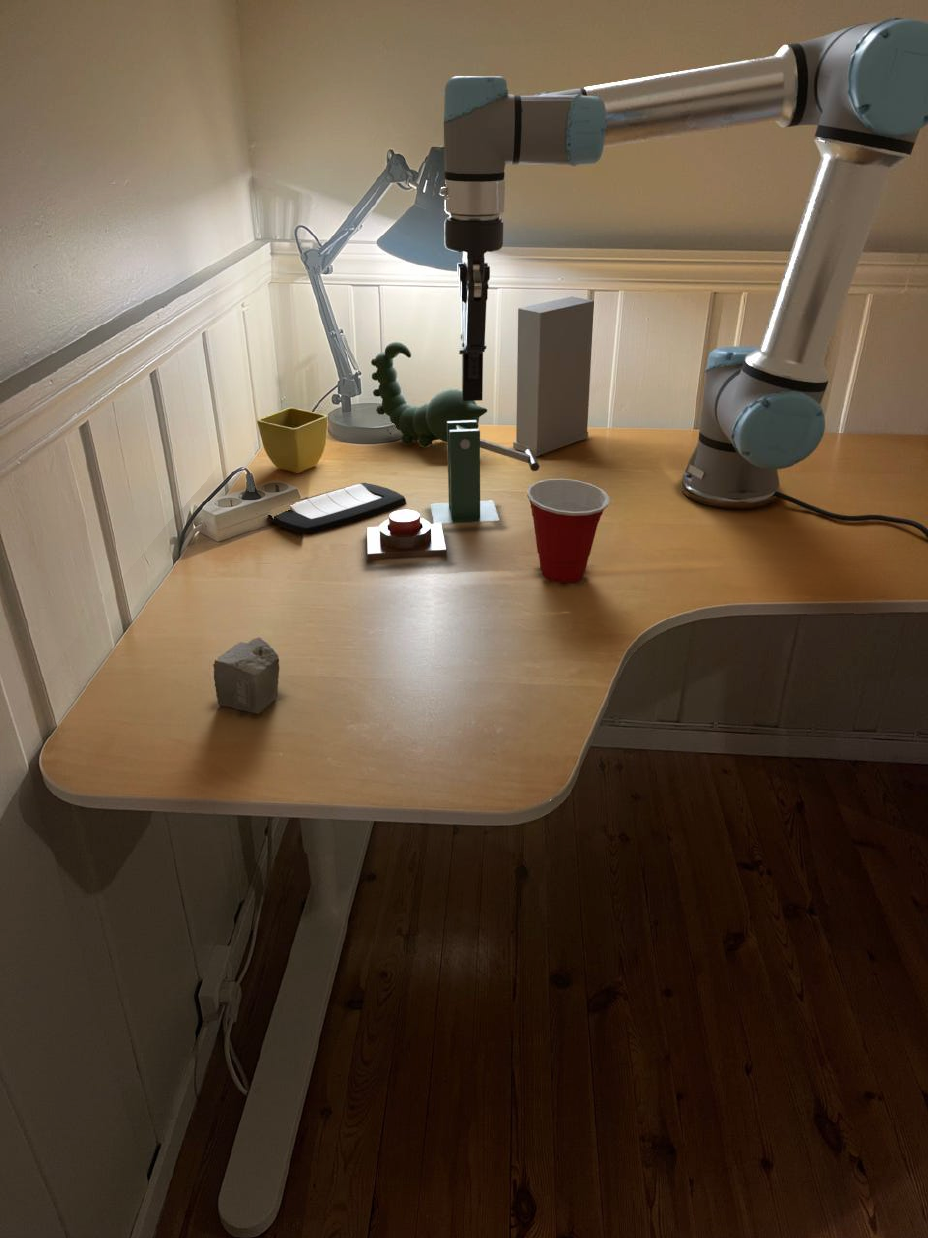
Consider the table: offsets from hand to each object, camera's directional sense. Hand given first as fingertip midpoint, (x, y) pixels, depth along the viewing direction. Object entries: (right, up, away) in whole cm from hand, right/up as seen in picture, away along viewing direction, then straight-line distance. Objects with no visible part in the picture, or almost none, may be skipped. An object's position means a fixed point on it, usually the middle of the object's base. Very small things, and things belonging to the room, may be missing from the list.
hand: (472, 398), depth 131 cm
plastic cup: (+13, -25, -3) cm, 28 cm away
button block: (-9, -21, +4) cm, 23 cm away
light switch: (-21, -14, +16) cm, 30 cm away
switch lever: (+3, -6, +9) cm, 12 cm away
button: (-10, -18, +2) cm, 20 cm away
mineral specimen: (-24, -40, -28) cm, 55 cm away
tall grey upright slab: (+15, +1, +43) cm, 45 cm away
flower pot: (-30, -4, +34) cm, 46 cm away
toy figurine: (-7, +1, +43) cm, 44 cm away
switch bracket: (-1, -15, +14) cm, 21 cm away
